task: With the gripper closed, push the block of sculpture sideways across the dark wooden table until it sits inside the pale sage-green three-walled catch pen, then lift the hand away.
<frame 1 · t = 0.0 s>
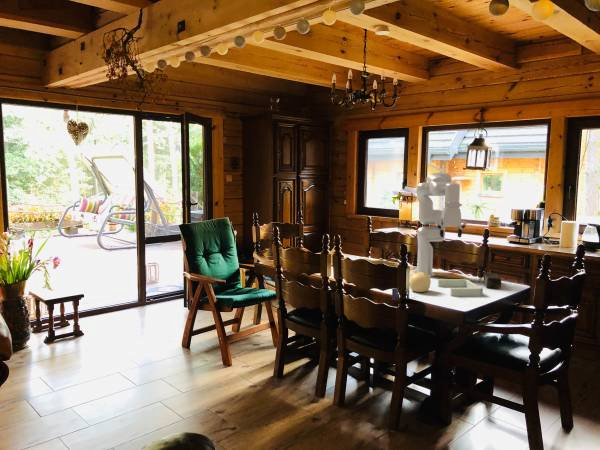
hand: (450, 237, 266), 31 cm above the table, tool pointing down, fingers open, 9 cm apart
catch pen: (458, 290, 274), on the table
sculpture: (419, 291, 273), on the table
flask: (400, 299, 255), on the table
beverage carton: (491, 286, 288), on the table
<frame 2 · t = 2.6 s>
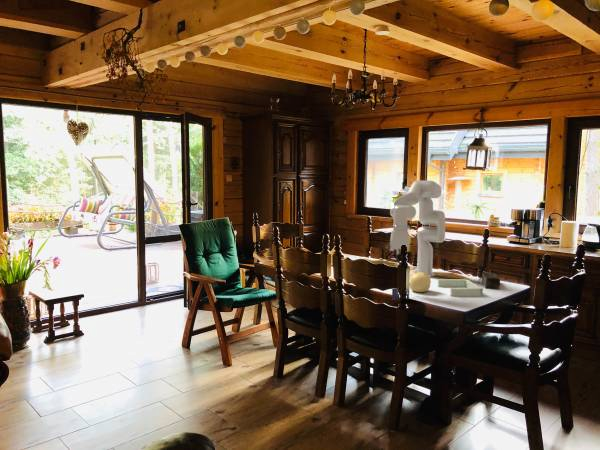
hand: (399, 261, 270), 17 cm above the table, tool pointing down, fingers closed
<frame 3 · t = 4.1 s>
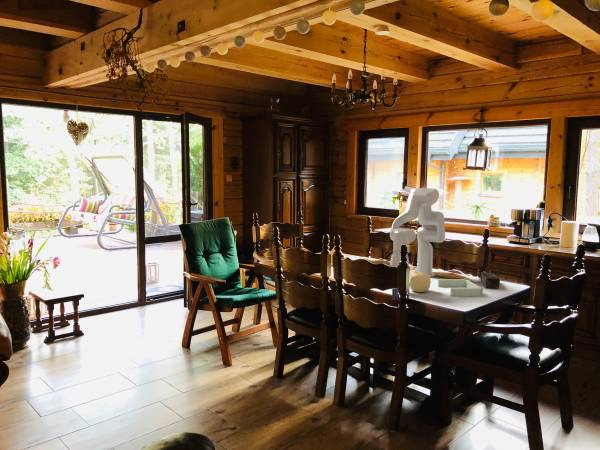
hand: (399, 284, 272), 4 cm above the table, tool pointing down, fingers closed
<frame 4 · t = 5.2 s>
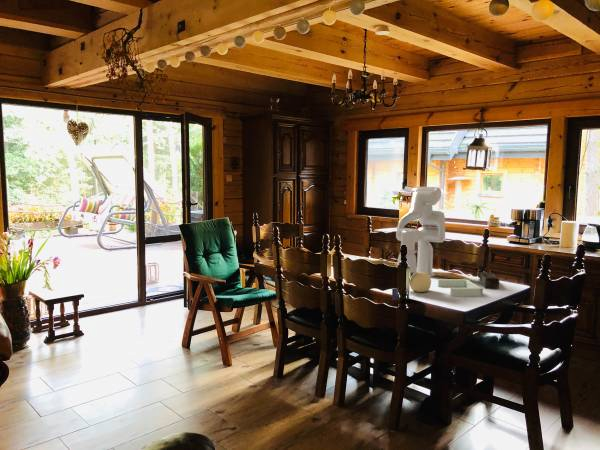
hand: (406, 284, 272), 4 cm above the table, tool pointing down, fingers closed
sculpture: (419, 291, 273), on the table, touching gripper
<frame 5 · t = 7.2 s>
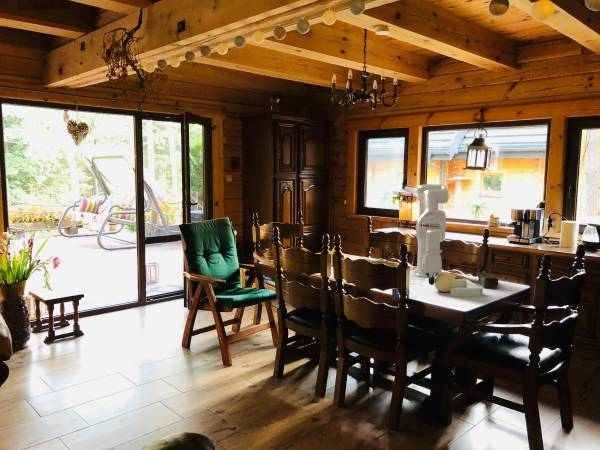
hand: (431, 284, 273), 4 cm above the table, tool pointing down, fingers closed
sculpture: (444, 291, 273), on the table, touching gripper
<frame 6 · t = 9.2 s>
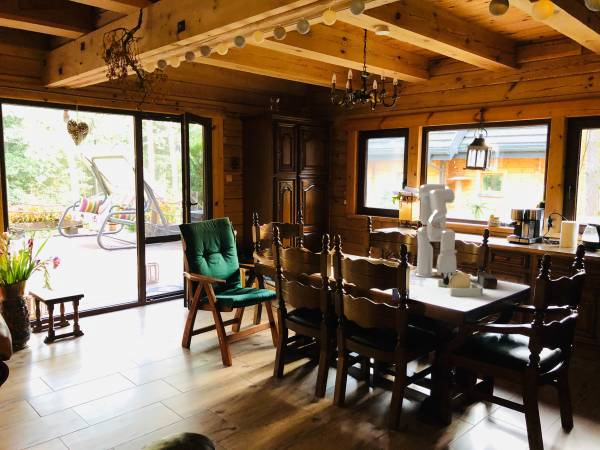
hand: (446, 284, 273), 4 cm above the table, tool pointing down, fingers closed
sculpture: (459, 291, 274), on the table, touching gripper
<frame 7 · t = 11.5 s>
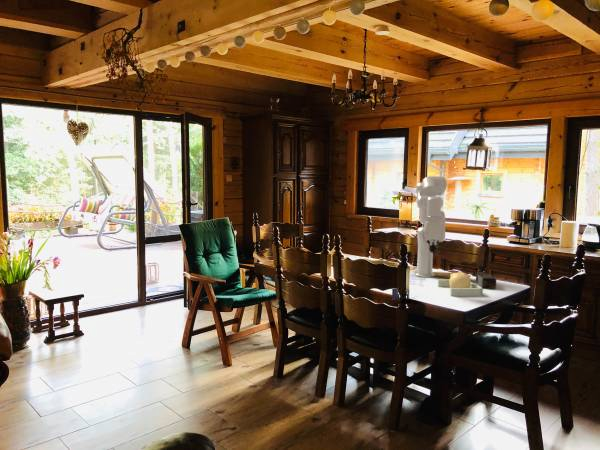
hand: (432, 252, 271), 22 cm above the table, tool pointing down, fingers closed
sculpture: (459, 291, 274), on the table
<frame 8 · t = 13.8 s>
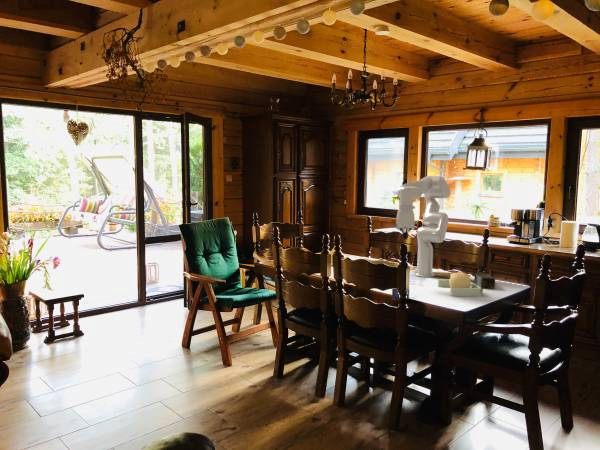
hand: (404, 239, 286), 27 cm above the table, tool pointing down, fingers closed
at the end: sculpture inside the target area on the catch pen (0.3 cm from its centre), point 0.0 cm above the catch pen's base; sculpture moved 22.7 cm from its start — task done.
